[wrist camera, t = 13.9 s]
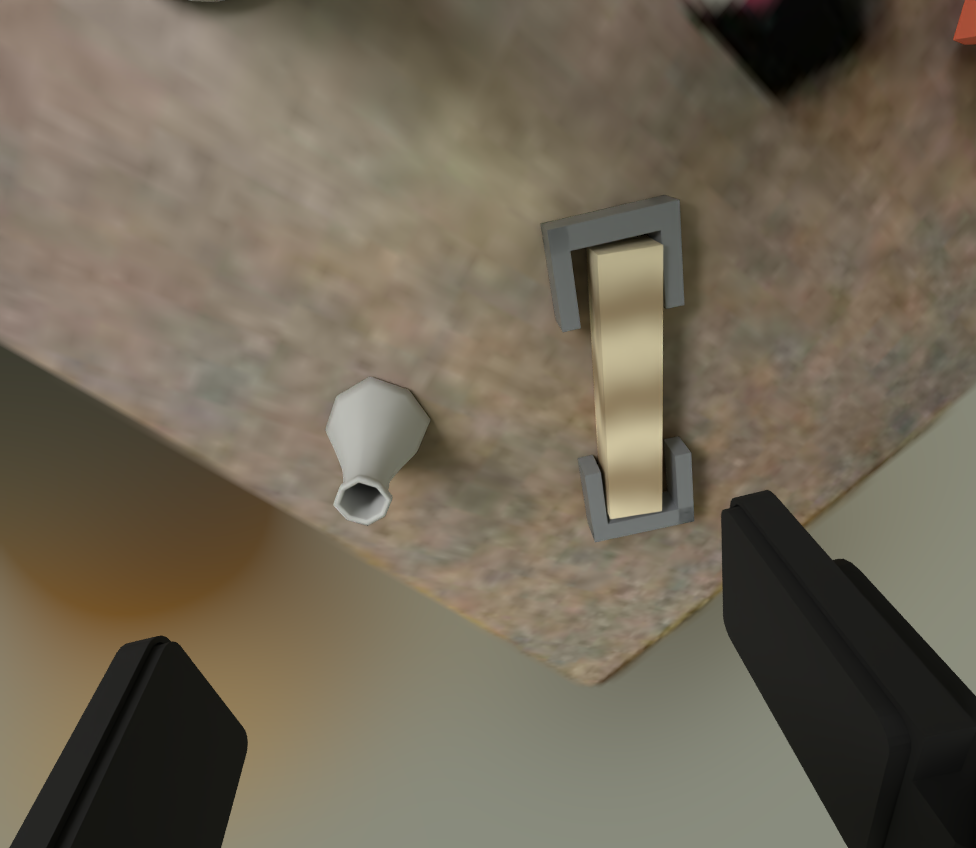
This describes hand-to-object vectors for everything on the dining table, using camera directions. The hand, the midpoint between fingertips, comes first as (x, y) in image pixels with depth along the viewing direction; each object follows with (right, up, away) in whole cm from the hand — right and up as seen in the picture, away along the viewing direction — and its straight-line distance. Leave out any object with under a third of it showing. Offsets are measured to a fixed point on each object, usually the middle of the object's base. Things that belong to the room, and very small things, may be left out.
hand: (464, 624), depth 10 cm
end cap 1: (+8, +14, +28) cm, 32 cm away
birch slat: (+10, +7, +32) cm, 35 cm away
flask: (-8, +4, +32) cm, 33 cm away
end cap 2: (+12, -1, +36) cm, 38 cm away
